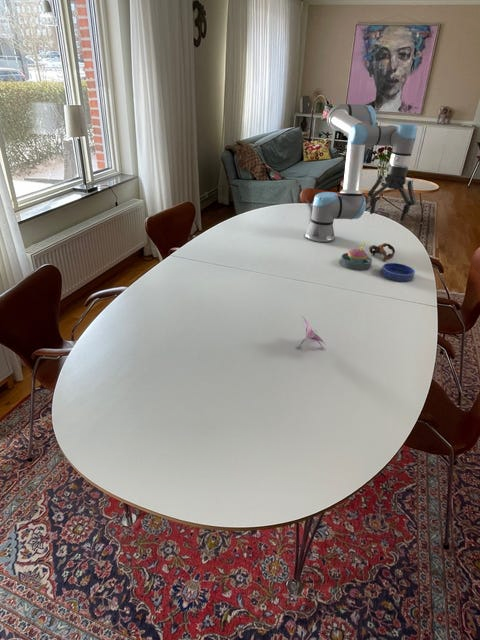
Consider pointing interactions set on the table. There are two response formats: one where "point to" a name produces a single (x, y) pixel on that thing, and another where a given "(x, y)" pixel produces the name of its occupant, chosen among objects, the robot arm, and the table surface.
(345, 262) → the slate dish
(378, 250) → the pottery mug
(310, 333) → the lily
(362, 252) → the cupcake
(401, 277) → the blue dish
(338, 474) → the table surface
